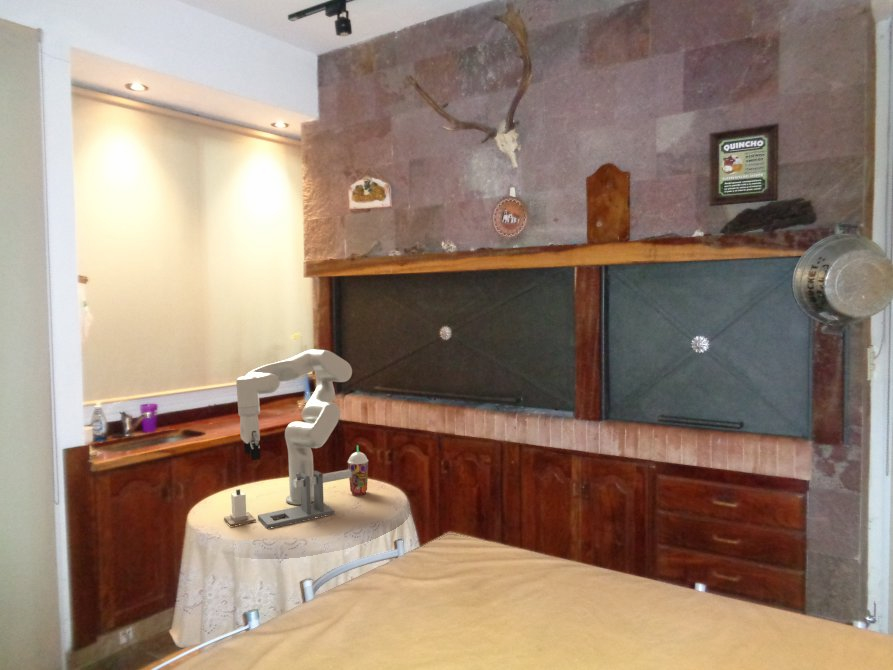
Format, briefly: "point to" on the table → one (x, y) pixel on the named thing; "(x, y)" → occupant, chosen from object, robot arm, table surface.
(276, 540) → the table surface
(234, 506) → the plug
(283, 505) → the table surface
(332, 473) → the bolt
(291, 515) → the socket block
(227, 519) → the pad
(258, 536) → the table surface
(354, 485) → the smoothie
